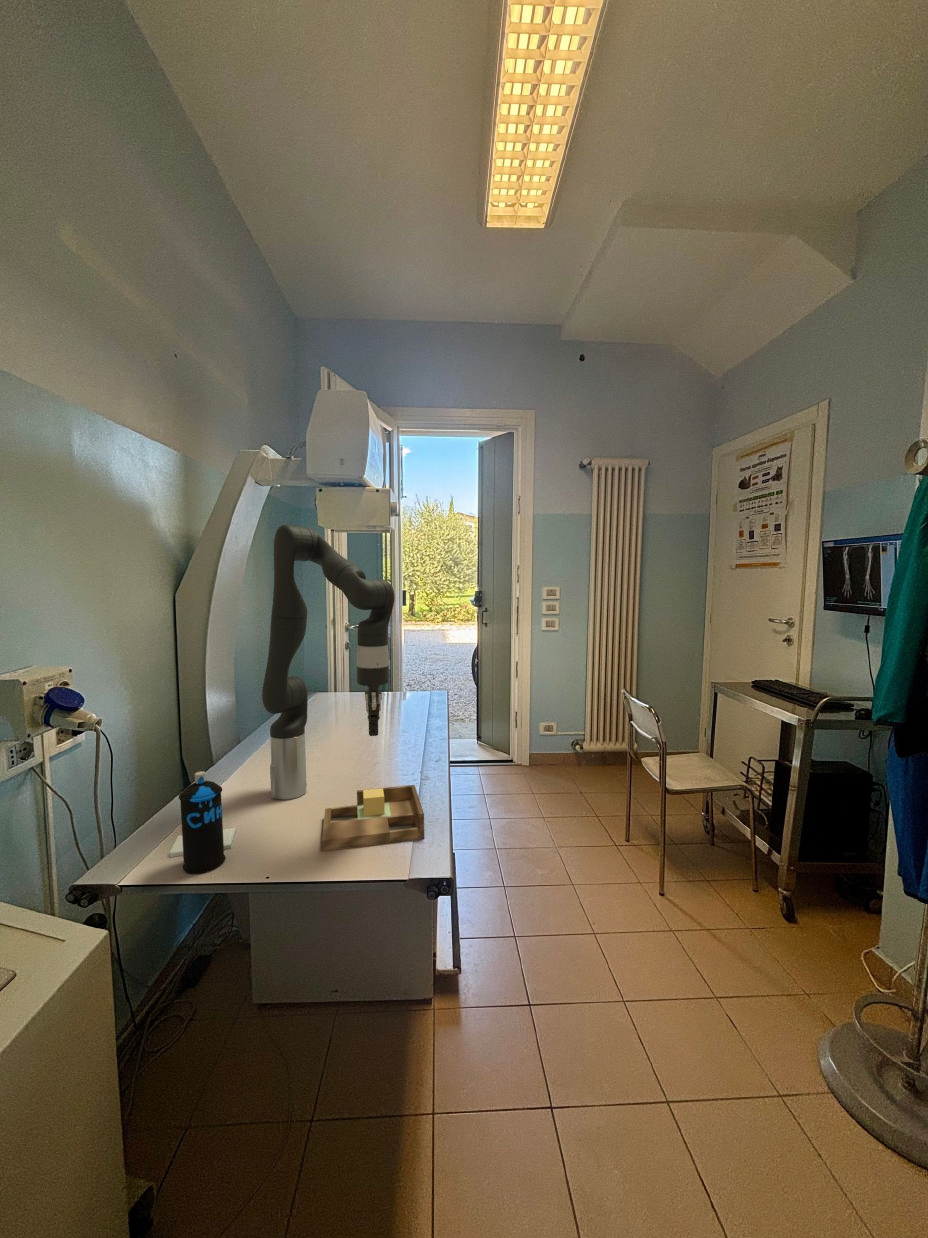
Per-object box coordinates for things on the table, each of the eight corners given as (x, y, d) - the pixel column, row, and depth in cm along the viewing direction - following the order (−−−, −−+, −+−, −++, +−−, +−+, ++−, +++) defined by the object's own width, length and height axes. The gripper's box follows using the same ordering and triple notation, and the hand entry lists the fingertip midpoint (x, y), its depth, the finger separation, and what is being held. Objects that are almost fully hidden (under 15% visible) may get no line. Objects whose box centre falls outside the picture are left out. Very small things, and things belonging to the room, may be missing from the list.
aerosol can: (177, 863, 108) (172, 773, 106) (217, 849, 114) (213, 763, 112) (189, 879, 102) (184, 784, 101) (231, 863, 108) (227, 773, 106)
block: (364, 816, 124) (363, 798, 123) (363, 807, 129) (363, 790, 128) (384, 814, 125) (384, 796, 124) (383, 805, 130) (382, 788, 129)
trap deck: (322, 851, 113) (321, 825, 112) (325, 816, 129) (324, 793, 129) (424, 838, 118) (424, 813, 117) (414, 806, 134) (414, 784, 134)
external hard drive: (178, 841, 118) (236, 833, 122) (169, 859, 111) (231, 850, 114) (178, 834, 118) (236, 826, 122) (169, 852, 110) (230, 843, 114)
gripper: (390, 668, 114) (391, 743, 115) (387, 658, 127) (387, 726, 128) (356, 669, 112) (357, 745, 114) (356, 659, 125) (357, 727, 127)
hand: (373, 734), depth 121 cm, fingers closed
